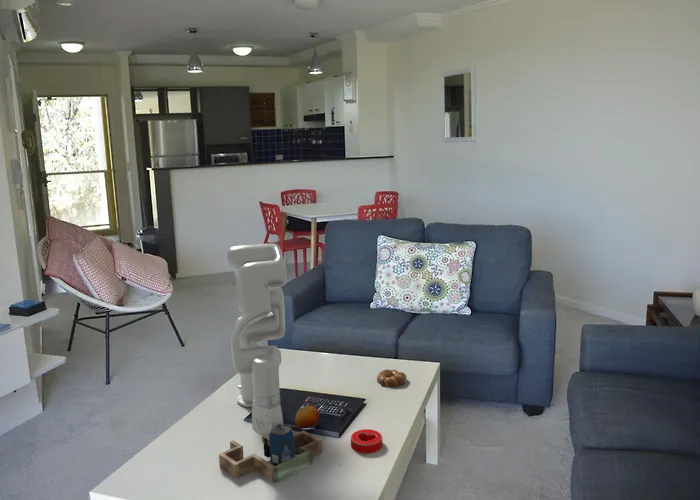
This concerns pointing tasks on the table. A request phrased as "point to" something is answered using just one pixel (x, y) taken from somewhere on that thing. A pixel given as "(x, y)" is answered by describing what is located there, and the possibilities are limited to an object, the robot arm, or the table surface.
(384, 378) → the pretzel
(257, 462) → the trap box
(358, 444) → the decorative ornament
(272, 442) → the soda can
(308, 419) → the fruit
